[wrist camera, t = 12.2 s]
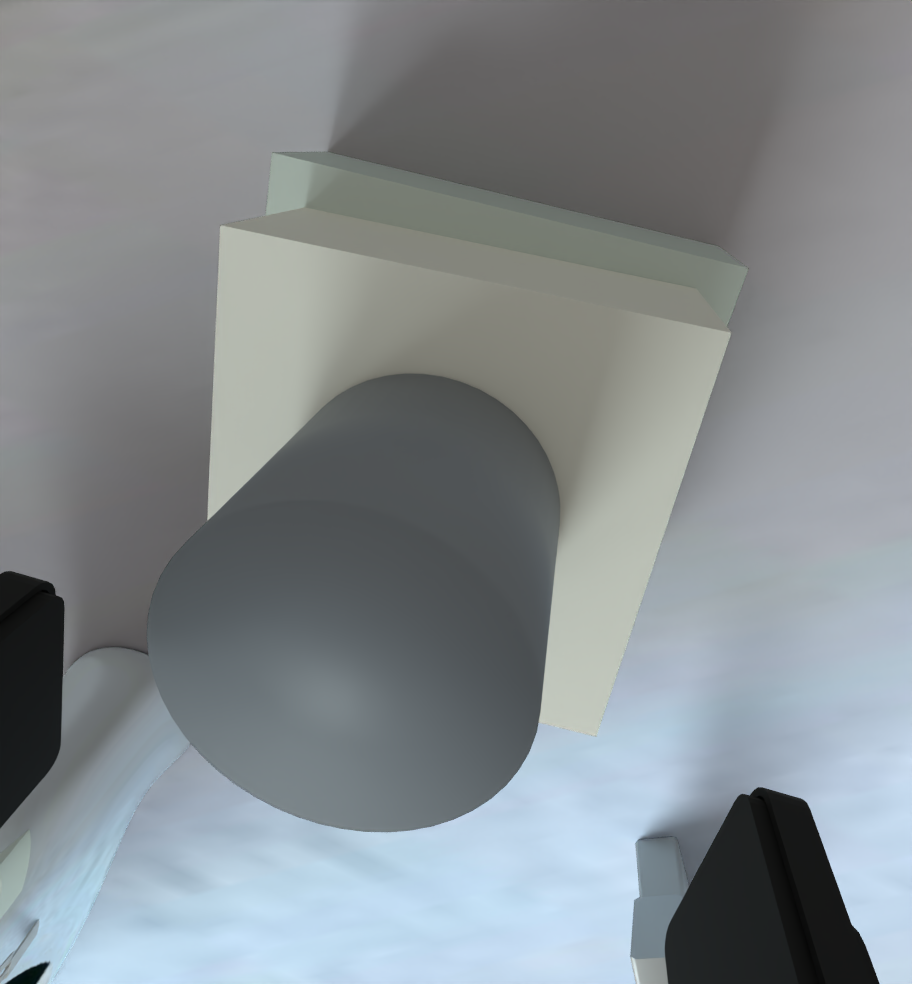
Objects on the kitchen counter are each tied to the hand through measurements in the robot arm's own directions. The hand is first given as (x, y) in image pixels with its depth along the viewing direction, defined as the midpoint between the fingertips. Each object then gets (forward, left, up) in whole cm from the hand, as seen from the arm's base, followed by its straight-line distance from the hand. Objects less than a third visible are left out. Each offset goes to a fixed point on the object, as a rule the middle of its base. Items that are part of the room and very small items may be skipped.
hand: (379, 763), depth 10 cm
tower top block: (0, +1, -12) cm, 12 cm away
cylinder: (0, +1, -7) cm, 7 cm away
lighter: (-17, -11, -17) cm, 27 cm away
